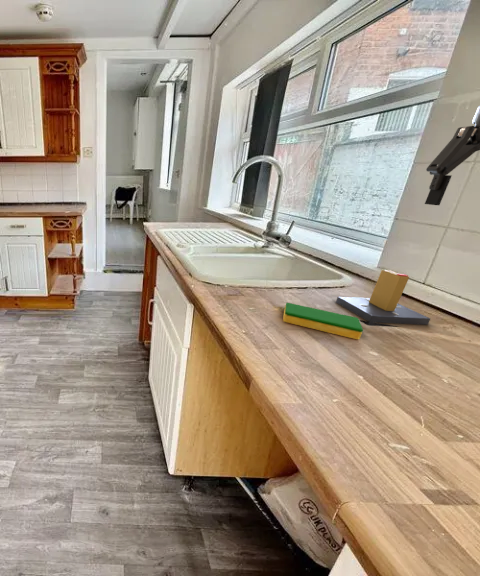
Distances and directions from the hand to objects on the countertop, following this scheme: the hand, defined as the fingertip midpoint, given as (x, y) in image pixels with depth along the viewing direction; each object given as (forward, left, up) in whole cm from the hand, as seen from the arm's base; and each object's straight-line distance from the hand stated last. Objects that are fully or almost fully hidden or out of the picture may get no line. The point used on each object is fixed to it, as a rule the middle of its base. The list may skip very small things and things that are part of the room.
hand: (460, 205), depth 72 cm
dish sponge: (+28, +25, -26) cm, 45 cm away
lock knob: (+13, +13, -23) cm, 30 cm away
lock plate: (+13, +13, -26) cm, 32 cm away
